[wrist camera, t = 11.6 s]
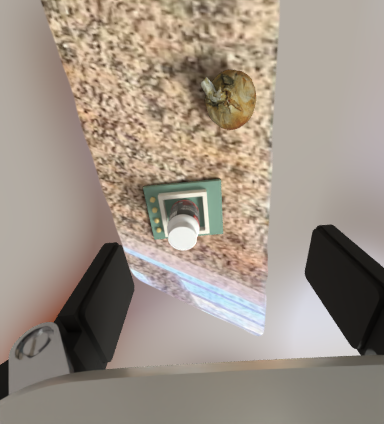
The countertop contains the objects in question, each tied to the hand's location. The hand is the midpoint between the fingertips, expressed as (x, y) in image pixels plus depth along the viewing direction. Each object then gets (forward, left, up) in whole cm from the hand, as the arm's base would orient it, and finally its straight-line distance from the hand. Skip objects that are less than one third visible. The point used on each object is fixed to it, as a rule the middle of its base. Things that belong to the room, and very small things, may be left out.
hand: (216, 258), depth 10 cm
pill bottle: (+12, -4, -29) cm, 32 cm away
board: (+12, -4, -30) cm, 33 cm away
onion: (-7, +5, -31) cm, 32 cm away
